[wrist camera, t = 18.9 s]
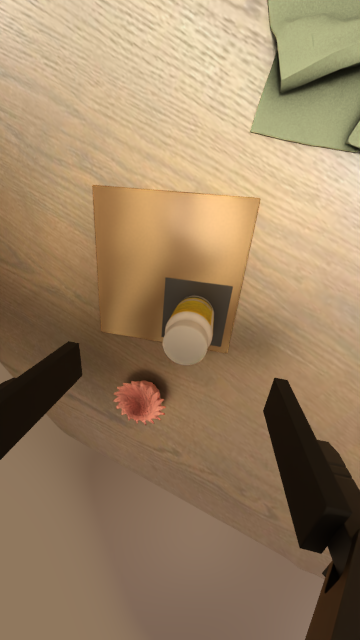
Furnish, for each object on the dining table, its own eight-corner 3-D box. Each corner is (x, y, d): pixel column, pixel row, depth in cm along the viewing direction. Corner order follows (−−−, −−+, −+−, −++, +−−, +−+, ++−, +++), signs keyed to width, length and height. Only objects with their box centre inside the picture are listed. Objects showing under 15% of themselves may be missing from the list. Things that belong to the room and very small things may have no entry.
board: (103, 329, 30) (99, 332, 29) (95, 186, 23) (90, 184, 22) (226, 350, 28) (227, 355, 27) (259, 199, 21) (261, 197, 20)
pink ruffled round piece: (131, 407, 35) (116, 436, 30) (117, 367, 32) (98, 392, 27) (175, 406, 33) (168, 437, 28) (165, 364, 30) (154, 389, 25)
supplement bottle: (172, 298, 25) (151, 325, 18) (209, 291, 24) (205, 316, 16) (181, 333, 27) (166, 371, 19) (217, 328, 26) (216, 366, 18)
